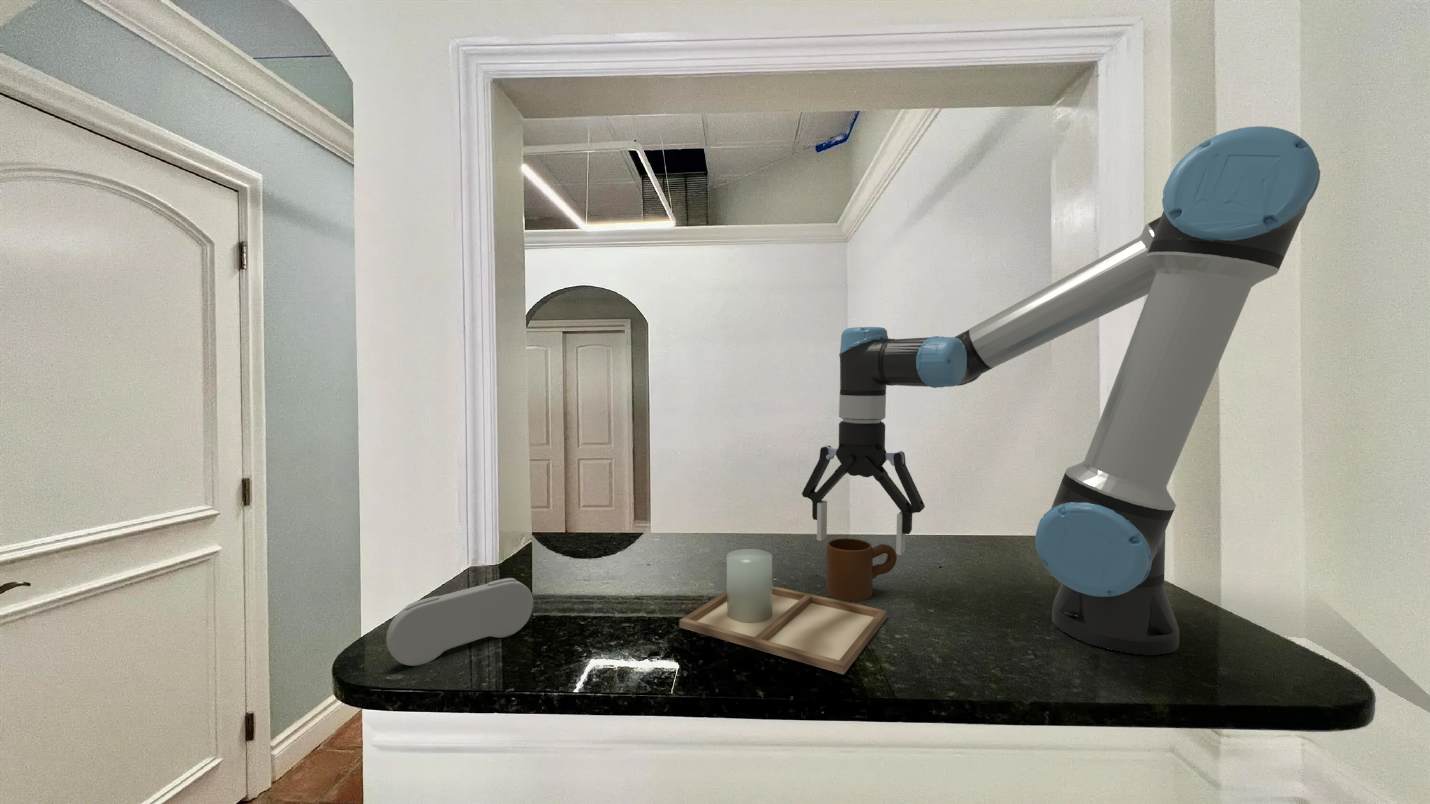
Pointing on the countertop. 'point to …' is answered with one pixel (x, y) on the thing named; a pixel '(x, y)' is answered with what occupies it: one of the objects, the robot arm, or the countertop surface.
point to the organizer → (796, 628)
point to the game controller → (458, 620)
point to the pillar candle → (749, 585)
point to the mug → (855, 568)
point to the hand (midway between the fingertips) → (859, 545)
